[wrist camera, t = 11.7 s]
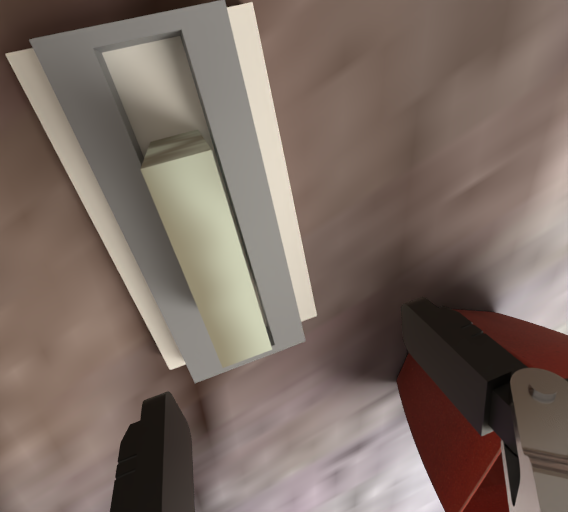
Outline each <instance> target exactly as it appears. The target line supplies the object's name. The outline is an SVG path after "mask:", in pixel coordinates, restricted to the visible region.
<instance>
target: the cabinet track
mask: <svg viewBox="0 0 568 512" xmlns="http://www.w3.org/2000/svg"><path fill="white" fill-rule="evenodd" d="M29 41H30V43H31V45H32V47H33V48H30V49H25V50H20V51H15V52H11V53H6V54H5V55H6V57H7V59H8V61H9V63H10V65H11V67H12V68H13V70H14V72H15V74H16V76H17V78H18V80H19V82H20V84H21V86H22V88H23V90H24V91H25V93H26V95H27V97H28V99H29V101H30V103H31V105H32V107H33V109H34V111H35V112H36V114H37V116H38V118H39V120H40V122H41V124H42V126H43V128H44V130H45V132H46V134H47V135H48V137H49V139H50V141H51V143H52V145H53V147H54V149H55V151H56V153H57V155H58V157H59V158H60V160H61V162H62V164H63V166H64V168H65V170H66V172H67V174H68V176H69V178H70V180H71V181H72V183H73V185H74V187H75V189H76V191H77V193H78V195H79V197H80V199H81V201H82V203H83V204H84V206H85V208H86V210H87V212H88V214H89V216H90V218H91V220H92V222H93V224H94V225H95V227H96V229H97V231H98V233H99V235H100V237H101V239H102V241H103V243H104V245H105V247H106V248H107V250H108V252H109V254H110V256H111V258H112V260H113V262H114V264H115V266H116V268H117V270H118V271H119V273H120V275H121V277H122V279H123V281H124V283H125V285H126V287H127V289H128V291H129V293H130V294H131V296H132V298H133V300H134V302H135V304H136V306H137V308H138V310H139V312H140V314H141V315H142V317H143V319H144V321H145V323H146V325H147V327H148V329H149V331H150V333H151V335H152V337H153V338H154V340H155V342H156V344H157V346H158V348H159V350H160V352H161V354H162V356H163V358H164V360H165V361H166V363H167V365H168V367H169V369H170V370H171V369H174V368H177V367H180V366H182V365H185V364H186V365H187V367H188V369H189V371H190V373H191V375H192V378H193V380H194V382H195V383H197V382H200V381H202V380H205V379H208V378H210V377H213V376H215V375H218V374H221V373H223V372H226V371H229V370H231V369H234V368H237V367H239V366H242V365H244V364H247V363H250V362H252V361H255V360H258V359H260V358H263V357H266V356H268V355H271V354H274V353H276V352H279V351H281V350H284V349H287V348H289V347H292V346H295V345H297V344H300V343H303V342H305V341H306V340H305V336H304V332H303V328H302V323H301V322H302V321H304V320H307V319H310V318H313V317H315V316H317V314H316V309H315V304H314V299H313V294H312V289H311V284H310V279H309V275H308V270H307V265H306V260H305V255H304V250H303V245H302V241H301V236H300V231H299V226H298V221H297V216H296V211H295V207H294V202H293V197H292V192H291V187H290V182H289V177H288V173H287V168H286V163H285V158H284V153H283V148H282V143H281V138H280V134H279V129H278V124H277V119H276V114H275V109H274V104H273V100H272V95H271V90H270V85H269V80H268V75H267V70H266V66H265V61H264V56H263V51H262V46H261V41H260V36H259V32H258V27H257V22H256V17H255V12H254V7H253V2H251V3H246V4H241V5H237V6H232V7H226V3H225V0H219V1H215V2H210V3H205V4H200V5H195V6H190V7H185V8H180V9H175V10H170V11H166V12H161V13H156V14H151V15H146V16H141V17H136V18H131V19H126V20H121V21H116V22H112V23H107V24H102V25H97V26H92V27H87V28H82V29H77V30H72V31H67V32H63V33H58V34H53V35H48V36H43V37H38V38H33V39H29ZM194 130H199V132H200V133H201V135H202V136H203V138H204V139H205V141H206V142H207V144H208V145H209V147H210V148H211V150H212V153H213V156H214V159H215V163H216V166H217V169H218V173H219V176H220V179H221V182H222V186H223V189H224V192H225V196H226V199H227V202H228V205H229V209H230V212H231V215H232V219H233V222H234V225H235V228H236V232H237V235H238V238H239V242H240V245H241V248H242V252H243V255H244V258H245V261H246V265H247V268H248V271H249V275H250V278H251V281H252V284H253V288H254V291H255V294H256V298H257V301H258V304H259V307H260V311H261V314H262V317H263V321H264V324H265V327H266V331H267V334H268V337H269V340H270V344H271V347H272V350H270V351H267V352H264V353H262V354H259V355H256V356H254V357H251V358H248V359H246V360H243V361H240V362H238V363H235V364H233V365H230V366H227V367H225V368H222V365H221V363H220V360H219V358H218V356H217V353H216V351H215V348H214V346H213V343H212V341H211V339H210V336H209V334H208V331H207V329H206V327H205V324H204V322H203V319H202V317H201V314H200V312H199V310H198V307H197V305H196V302H195V300H194V298H193V295H192V293H191V290H190V288H189V285H188V283H187V281H186V278H185V276H184V273H183V271H182V269H181V266H180V264H179V261H178V259H177V256H176V254H175V252H174V249H173V247H172V244H171V242H170V240H169V237H168V235H167V232H166V230H165V227H164V225H163V223H162V220H161V218H160V215H159V213H158V211H157V208H156V206H155V203H154V201H153V198H152V196H151V194H150V191H149V189H148V186H147V184H146V182H145V179H144V177H143V174H142V172H141V166H142V163H143V161H144V158H145V155H146V152H147V150H148V147H149V144H150V142H152V141H155V140H159V139H163V138H167V137H171V136H175V135H178V134H182V133H186V132H190V131H194Z"/></svg>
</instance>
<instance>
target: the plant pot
mask: <svg viewBox="0 0 568 512" xmlns="http://www.w3.org/2000/svg"><path fill="white" fill-rule="evenodd" d="M452 310H455V311H457V312H460V313H461V314H462V315H463V316H465V317H466V318H467V319H468V320H470V321H471V322H472V323H473V325H476V326H477V327H478V328H480V329H481V330H482V331H483V333H484V334H485V333H486V334H487V335H488V336H490V337H491V338H492V339H493V340H495V341H496V342H497V343H498V344H499V345H501V346H502V347H503V348H504V349H506V350H507V351H508V352H509V353H511V354H512V355H513V356H514V357H516V358H517V359H518V360H519V361H521V362H522V363H523V364H524V365H526V366H527V367H528V368H539V369H544V370H548V371H550V372H553V373H555V374H557V375H559V376H560V377H562V378H564V379H566V378H568V335H565V334H563V333H560V332H557V331H554V330H551V329H548V328H545V327H542V326H539V325H536V324H533V323H530V322H527V321H523V320H520V319H517V318H513V317H510V316H507V315H503V314H500V313H496V312H485V311H472V310H459V309H452ZM397 386H398V390H399V394H400V398H401V401H402V405H403V408H404V412H405V415H406V418H407V421H408V424H409V427H410V430H411V433H412V436H413V439H414V442H415V444H416V447H417V449H418V452H419V454H420V457H421V459H422V462H423V464H424V467H425V469H426V471H427V474H428V476H429V478H430V480H431V483H432V485H433V487H434V489H435V491H436V493H437V496H438V498H439V500H440V502H441V504H442V506H443V508H444V510H445V512H509V503H508V496H507V488H506V481H505V473H504V466H503V458H502V451H501V438H500V437H499V436H498V435H497V434H496V433H495V432H494V431H492V432H490V433H488V434H486V435H484V436H481V435H480V434H479V433H478V432H477V431H476V430H475V429H474V427H473V426H472V425H471V424H470V423H469V422H468V420H467V419H466V418H465V417H464V416H463V415H462V414H461V412H460V411H459V410H458V409H457V408H456V407H455V405H454V404H453V403H452V402H451V401H450V400H449V399H448V397H447V396H446V395H445V394H444V393H443V392H442V390H441V389H440V388H439V387H438V386H437V385H436V384H435V382H434V381H433V380H432V379H431V378H430V377H429V375H428V374H427V373H426V372H425V371H424V370H423V368H422V367H421V366H420V365H419V364H418V363H417V362H416V360H415V359H414V358H413V357H412V356H411V355H410V353H408V355H407V358H406V360H405V362H404V364H403V367H402V369H401V371H400V373H399V375H398V378H397Z"/></svg>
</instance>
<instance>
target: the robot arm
mask: <svg viewBox="0 0 568 512" xmlns="http://www.w3.org/2000/svg"><path fill="white" fill-rule="evenodd" d="M401 316H402V332H403V340H404V344H405V346H406V348H407V350H408V352H409V353H410V355H411V356H412V357H413V358H414V359H415V360H416V362H417V363H418V364H419V365H420V366H421V367H422V368H423V370H424V371H425V372H426V373H427V374H428V375H429V377H430V378H431V379H432V380H433V381H434V382H435V384H436V385H437V386H438V387H439V388H440V389H441V390H442V392H443V393H444V394H445V395H446V396H447V397H448V399H449V400H450V401H451V402H452V403H453V404H454V405H455V407H456V408H457V409H458V410H459V411H460V412H461V414H462V415H463V416H464V417H465V418H466V419H467V420H468V422H469V423H470V424H471V425H472V426H473V427H474V429H475V430H476V431H477V432H478V433H479V434H480V435H481V436H484V435H486V434H488V433H490V432H492V431H494V432H495V433H496V434H497V435H498V436H499V437H500V438H501V451H502V458H503V466H504V473H505V481H506V488H507V496H508V503H509V512H568V378H566V379H564V378H562V377H560V376H559V375H557V374H555V373H553V372H550V371H548V370H544V369H539V368H528V367H527V366H526V365H524V364H523V363H522V362H521V361H519V360H518V359H517V358H516V357H514V356H513V355H512V354H511V353H509V352H508V351H507V350H506V349H504V348H503V347H502V346H501V345H499V344H498V343H497V342H496V341H495V340H493V339H492V338H491V337H490V336H488V335H487V334H486V333H485V334H484V333H483V331H482V330H481V329H480V328H478V327H477V326H476V325H473V323H472V322H471V321H470V320H468V319H467V318H466V317H465V316H463V315H462V314H461V313H460V312H457V311H455V310H452V309H450V308H447V307H445V306H442V307H440V308H437V307H436V306H435V305H434V304H432V303H431V302H430V301H429V300H428V299H426V298H424V297H422V298H419V299H416V300H414V301H411V302H408V303H405V304H403V305H402V306H401ZM115 477H116V480H115V482H114V489H113V495H112V502H111V508H110V512H195V506H194V483H193V460H192V439H191V433H190V429H189V426H188V423H187V421H186V419H185V417H184V415H183V414H182V412H181V410H180V408H179V407H178V405H177V403H176V401H175V400H174V398H173V396H172V394H171V393H170V392H165V393H162V394H160V395H157V396H154V397H152V398H149V399H146V400H144V401H143V404H142V411H141V420H140V421H138V422H136V423H133V424H130V426H129V428H128V430H127V431H126V433H125V435H124V437H123V439H122V441H121V444H120V450H119V457H118V465H117V469H116V476H115Z"/></svg>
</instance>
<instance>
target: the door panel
mask: <svg viewBox="0 0 568 512" xmlns="http://www.w3.org/2000/svg"><path fill="white" fill-rule="evenodd" d="M141 172H142V174H143V177H144V179H145V182H146V184H147V186H148V189H149V191H150V194H151V196H152V198H153V201H154V203H155V206H156V208H157V211H158V213H159V215H160V218H161V220H162V223H163V225H164V227H165V230H166V232H167V235H168V237H169V240H170V242H171V244H172V247H173V249H174V252H175V254H176V256H177V259H178V261H179V264H180V266H181V269H182V271H183V273H184V276H185V278H186V281H187V283H188V285H189V288H190V290H191V293H192V295H193V298H194V300H195V302H196V305H197V307H198V310H199V312H200V314H201V317H202V319H203V322H204V324H205V327H206V329H207V331H208V334H209V336H210V339H211V341H212V343H213V346H214V348H215V351H216V353H217V356H218V358H219V360H220V363H221V365H222V368H225V367H227V366H230V365H233V364H235V363H238V362H240V361H243V360H246V359H248V358H251V357H254V356H256V355H259V354H262V353H264V352H267V351H270V350H272V347H271V344H270V340H269V337H268V334H267V331H266V327H265V324H264V321H263V317H262V314H261V311H260V307H259V304H258V301H257V298H256V294H255V291H254V288H253V284H252V281H251V278H250V275H249V271H248V268H247V265H246V261H245V258H244V255H243V252H242V248H241V245H240V242H239V238H238V235H237V232H236V228H235V225H234V222H233V219H232V215H231V212H230V209H229V205H228V202H227V199H226V196H225V192H224V189H223V186H222V182H221V179H220V176H219V173H218V169H217V166H216V163H215V159H214V156H213V153H212V150H211V148H210V147H209V145H208V144H207V142H206V141H205V139H204V138H203V136H202V135H201V133H200V132H199V130H194V131H190V132H186V133H182V134H178V135H175V136H171V137H167V138H163V139H159V140H155V141H152V142H150V144H149V147H148V150H147V152H146V155H145V158H144V161H143V163H142V166H141Z"/></svg>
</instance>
